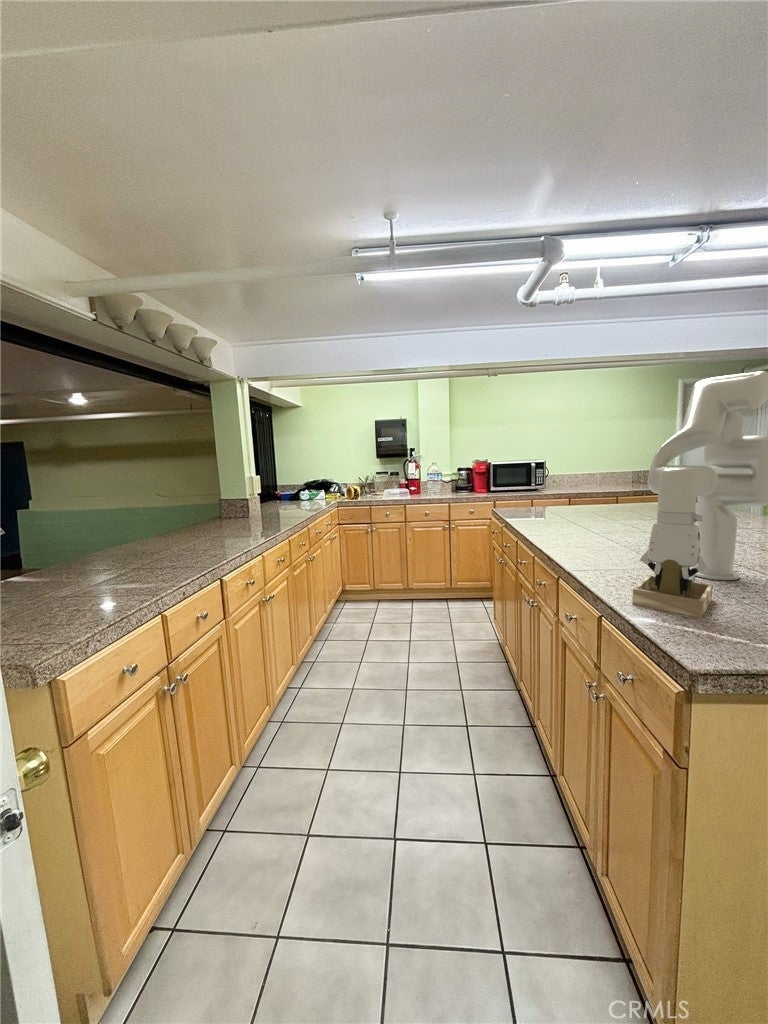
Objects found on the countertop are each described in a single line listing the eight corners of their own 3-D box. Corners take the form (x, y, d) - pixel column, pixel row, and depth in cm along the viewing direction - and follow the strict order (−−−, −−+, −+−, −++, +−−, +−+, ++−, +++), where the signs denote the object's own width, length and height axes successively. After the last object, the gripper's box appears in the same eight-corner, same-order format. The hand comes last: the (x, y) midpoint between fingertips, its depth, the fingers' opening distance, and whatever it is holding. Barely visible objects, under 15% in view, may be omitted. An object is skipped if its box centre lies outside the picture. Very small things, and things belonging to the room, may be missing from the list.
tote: (648, 590, 115) (649, 575, 114) (711, 601, 105) (712, 584, 105) (632, 606, 104) (633, 588, 103) (701, 620, 94) (702, 601, 93)
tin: (661, 592, 112) (663, 570, 111) (693, 598, 107) (695, 575, 106) (657, 597, 108) (658, 575, 107) (690, 603, 103) (692, 580, 102)
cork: (690, 603, 99) (693, 559, 97) (662, 602, 100) (664, 558, 99) (677, 595, 105) (680, 553, 103) (651, 594, 106) (653, 553, 104)
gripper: (721, 519, 96) (715, 594, 99) (640, 514, 108) (636, 581, 111) (717, 523, 91) (711, 602, 94) (632, 517, 103) (628, 588, 105)
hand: (670, 590), depth 102 cm, fingers closed on cork, 3 cm apart
